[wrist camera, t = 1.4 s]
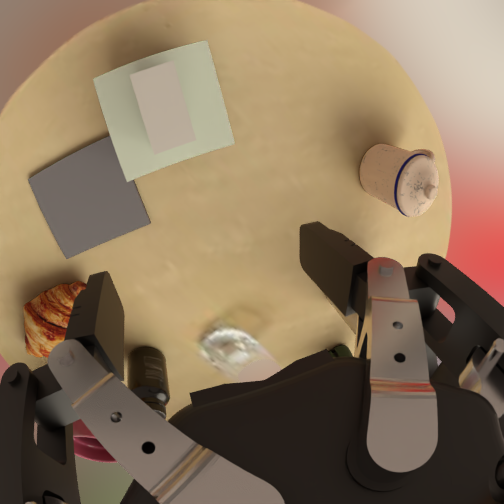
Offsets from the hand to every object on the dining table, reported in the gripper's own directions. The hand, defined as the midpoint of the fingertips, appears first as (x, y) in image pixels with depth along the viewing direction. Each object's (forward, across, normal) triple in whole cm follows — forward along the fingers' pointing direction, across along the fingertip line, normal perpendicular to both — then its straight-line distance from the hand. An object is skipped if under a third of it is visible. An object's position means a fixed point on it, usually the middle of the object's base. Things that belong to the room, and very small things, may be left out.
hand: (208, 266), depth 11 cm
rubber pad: (+24, +11, +2) cm, 27 cm away
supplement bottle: (+25, +12, +31) cm, 41 cm away
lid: (+17, 0, -6) cm, 18 cm away
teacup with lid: (+23, -32, +4) cm, 39 cm away
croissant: (+25, +24, +18) cm, 39 cm away
